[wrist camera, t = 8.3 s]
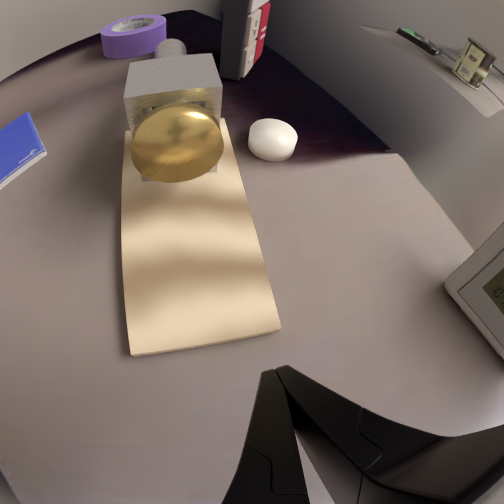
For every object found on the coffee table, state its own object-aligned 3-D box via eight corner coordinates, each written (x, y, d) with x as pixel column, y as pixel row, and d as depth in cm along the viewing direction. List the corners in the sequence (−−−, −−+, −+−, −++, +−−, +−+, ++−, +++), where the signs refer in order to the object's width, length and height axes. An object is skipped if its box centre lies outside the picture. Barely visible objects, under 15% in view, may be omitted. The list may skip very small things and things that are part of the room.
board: (278, 331, 22) (281, 328, 21) (134, 356, 20) (130, 354, 19) (223, 124, 31) (224, 118, 30) (127, 137, 29) (125, 131, 28)
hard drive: (44, 148, 26) (28, 110, 29) (-9, 188, 23) (-15, 141, 26) (48, 157, 28) (31, 118, 31) (-3, 196, 24) (-11, 148, 28)
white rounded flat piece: (299, 161, 30) (303, 148, 29) (253, 164, 29) (256, 150, 28) (285, 131, 32) (289, 118, 31) (243, 133, 31) (245, 119, 30)
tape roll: (171, 33, 44) (171, 12, 39) (158, 56, 39) (157, 31, 34) (115, 38, 42) (113, 18, 38) (94, 63, 37) (89, 40, 33)
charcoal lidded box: (243, 83, 36) (257, -14, 23) (214, 77, 36) (222, -18, 23) (263, 55, 41) (277, -23, 28) (238, 50, 41) (248, -27, 28)
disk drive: (440, 55, 68) (405, 33, 71) (443, 50, 65) (408, 27, 69) (433, 57, 64) (395, 33, 67) (436, 51, 61) (398, 26, 65)
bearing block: (217, 171, 27) (222, 86, 18) (142, 182, 25) (123, 98, 17) (208, 130, 29) (211, 53, 21) (142, 139, 28) (130, 62, 19)
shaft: (221, 176, 23) (226, 111, 17) (139, 188, 22) (122, 124, 16) (198, 72, 30) (200, 25, 24) (144, 78, 29) (139, 31, 23)
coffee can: (475, 83, 61) (493, 53, 49) (479, 94, 57) (499, 61, 44) (450, 65, 63) (467, 34, 50) (452, 74, 58) (471, 40, 46)
